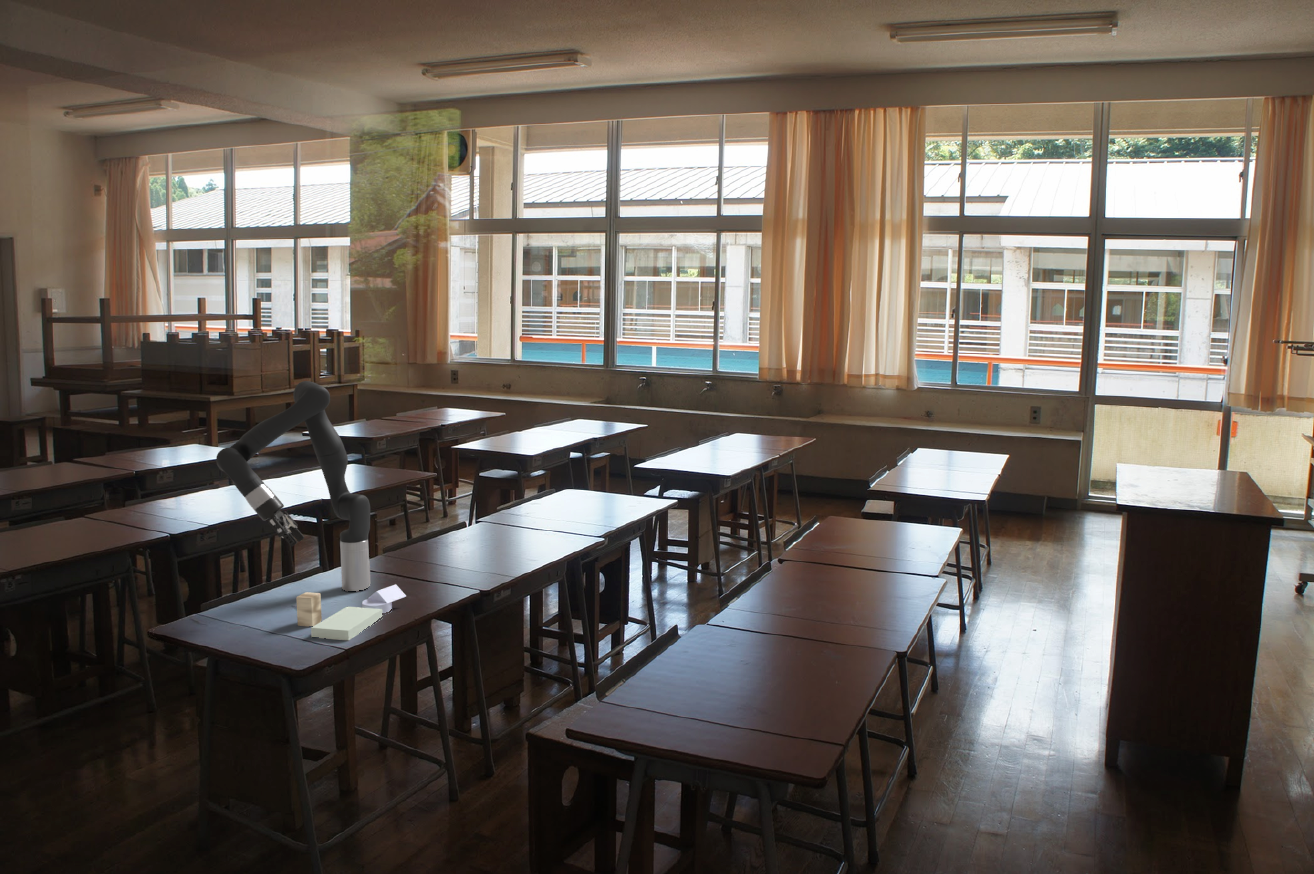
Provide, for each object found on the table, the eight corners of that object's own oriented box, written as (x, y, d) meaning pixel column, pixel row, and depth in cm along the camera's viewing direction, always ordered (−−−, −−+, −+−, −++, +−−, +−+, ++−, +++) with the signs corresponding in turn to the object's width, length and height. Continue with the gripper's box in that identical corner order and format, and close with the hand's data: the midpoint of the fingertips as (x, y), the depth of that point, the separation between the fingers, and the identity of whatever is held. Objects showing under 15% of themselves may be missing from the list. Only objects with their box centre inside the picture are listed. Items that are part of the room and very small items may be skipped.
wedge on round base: (386, 601, 300) (356, 613, 288) (385, 582, 299) (355, 592, 287) (406, 606, 296) (377, 617, 284) (406, 586, 295) (376, 596, 283)
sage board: (347, 615, 286) (347, 606, 285) (382, 618, 283) (382, 609, 283) (311, 637, 266) (311, 627, 266) (348, 640, 264) (348, 630, 263)
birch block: (307, 620, 281) (305, 592, 280) (321, 621, 280) (320, 593, 279) (297, 625, 276) (296, 597, 275) (312, 626, 275) (311, 598, 274)
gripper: (267, 497, 274) (302, 538, 276) (280, 491, 288) (313, 531, 290) (247, 512, 273) (282, 554, 275) (261, 506, 287) (294, 545, 289)
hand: (298, 542), depth 283 cm, fingers open, 8 cm apart
